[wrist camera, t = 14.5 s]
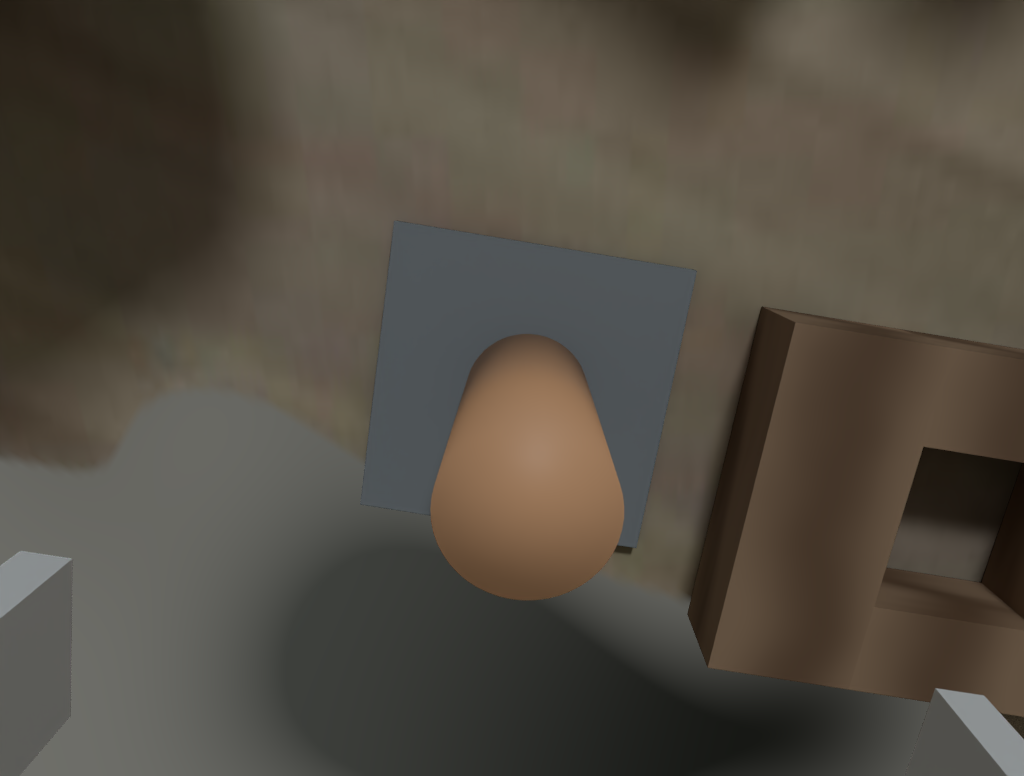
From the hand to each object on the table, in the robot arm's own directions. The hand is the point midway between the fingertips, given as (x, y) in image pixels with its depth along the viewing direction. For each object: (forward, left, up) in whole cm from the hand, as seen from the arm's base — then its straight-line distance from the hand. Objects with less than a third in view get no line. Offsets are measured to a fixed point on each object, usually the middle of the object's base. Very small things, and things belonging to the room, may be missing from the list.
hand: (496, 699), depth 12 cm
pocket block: (+18, -2, -21) cm, 28 cm away
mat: (0, 0, -21) cm, 21 cm away
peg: (0, 0, -20) cm, 20 cm away
